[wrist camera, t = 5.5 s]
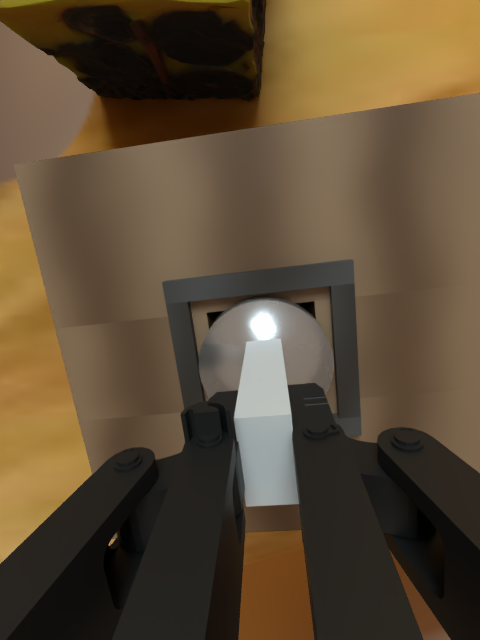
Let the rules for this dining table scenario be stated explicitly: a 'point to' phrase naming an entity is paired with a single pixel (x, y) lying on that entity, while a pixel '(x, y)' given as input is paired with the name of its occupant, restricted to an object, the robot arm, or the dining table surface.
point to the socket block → (271, 270)
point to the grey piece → (263, 324)
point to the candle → (149, 44)
